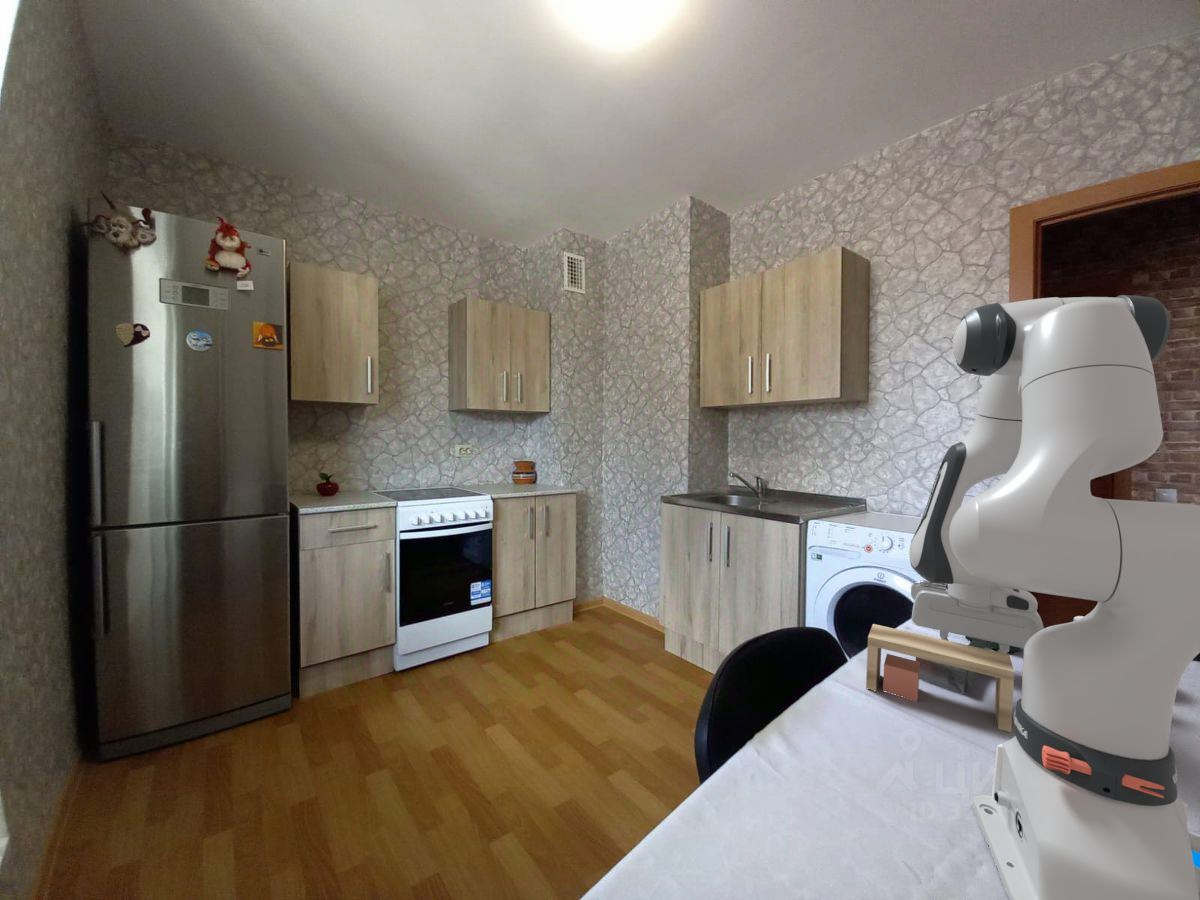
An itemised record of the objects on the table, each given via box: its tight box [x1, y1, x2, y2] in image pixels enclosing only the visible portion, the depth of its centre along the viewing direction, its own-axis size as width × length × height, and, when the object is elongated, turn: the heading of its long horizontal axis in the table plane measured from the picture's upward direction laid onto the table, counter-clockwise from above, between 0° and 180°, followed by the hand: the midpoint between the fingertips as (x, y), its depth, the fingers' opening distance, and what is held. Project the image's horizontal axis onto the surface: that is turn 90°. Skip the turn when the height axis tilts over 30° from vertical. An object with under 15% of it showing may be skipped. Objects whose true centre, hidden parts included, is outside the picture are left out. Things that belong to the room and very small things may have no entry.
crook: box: [915, 638, 993, 696], centre depth 91 cm, size 21×7×4 cm, turn 130°
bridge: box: [865, 623, 1015, 733], centre depth 80 cm, size 7×20×10 cm, turn 53°
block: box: [882, 653, 920, 702], centre depth 83 cm, size 5×5×5 cm
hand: (972, 658), depth 91 cm, fingers open, 5 cm apart
